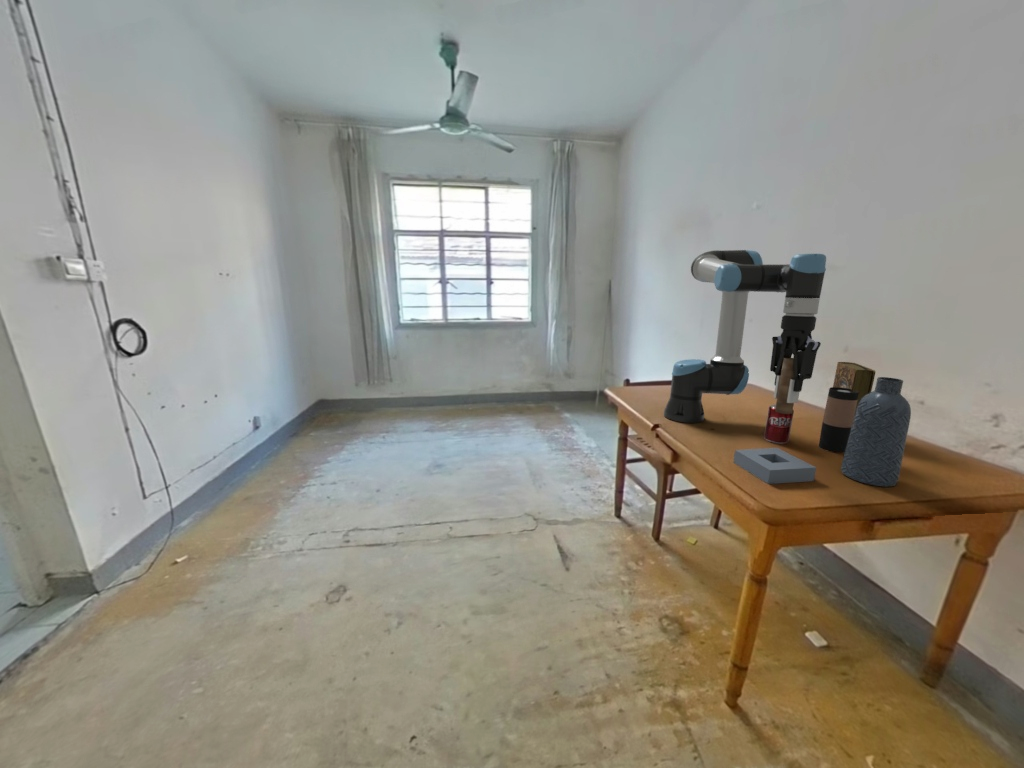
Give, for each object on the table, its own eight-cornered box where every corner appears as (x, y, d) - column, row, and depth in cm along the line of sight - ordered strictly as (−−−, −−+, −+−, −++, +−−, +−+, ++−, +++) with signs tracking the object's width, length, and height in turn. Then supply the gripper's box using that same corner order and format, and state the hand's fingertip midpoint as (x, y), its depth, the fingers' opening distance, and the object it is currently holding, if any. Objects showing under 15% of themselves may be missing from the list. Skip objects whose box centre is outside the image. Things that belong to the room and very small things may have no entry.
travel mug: (816, 448, 135) (827, 389, 131) (819, 442, 141) (830, 385, 136) (845, 455, 130) (858, 394, 126) (847, 448, 136) (860, 389, 131)
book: (823, 425, 159) (836, 361, 153) (840, 426, 157) (853, 362, 151) (841, 439, 144) (856, 369, 138) (860, 441, 142) (876, 370, 136)
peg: (771, 410, 116) (780, 357, 113) (784, 409, 117) (792, 357, 114) (782, 414, 112) (791, 360, 109) (795, 413, 113) (805, 359, 110)
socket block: (733, 462, 124) (735, 449, 123) (775, 460, 126) (777, 447, 125) (767, 483, 110) (770, 470, 110) (813, 480, 112) (816, 467, 112)
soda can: (792, 445, 138) (798, 411, 135) (768, 443, 139) (774, 409, 137) (782, 437, 145) (788, 405, 142) (760, 436, 146) (765, 403, 144)
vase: (908, 484, 111) (934, 383, 104) (876, 490, 108) (901, 385, 101) (859, 466, 122) (880, 373, 116) (829, 470, 119) (849, 375, 112)
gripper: (762, 313, 116) (751, 393, 121) (814, 317, 100) (798, 409, 105) (786, 313, 117) (773, 392, 123) (841, 317, 101) (824, 408, 106)
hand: (785, 400), depth 114 cm, fingers closed on peg, 4 cm apart
